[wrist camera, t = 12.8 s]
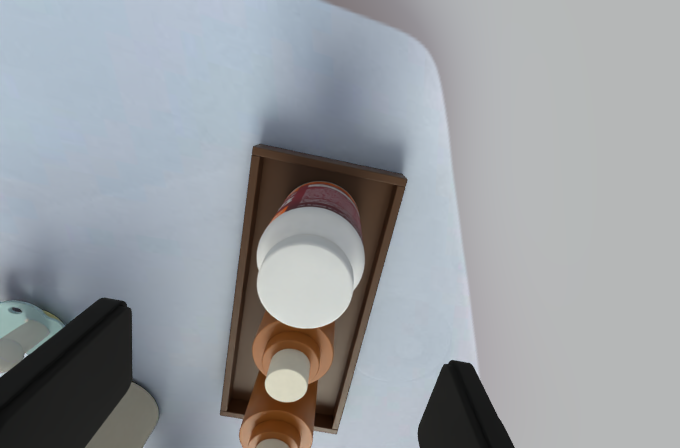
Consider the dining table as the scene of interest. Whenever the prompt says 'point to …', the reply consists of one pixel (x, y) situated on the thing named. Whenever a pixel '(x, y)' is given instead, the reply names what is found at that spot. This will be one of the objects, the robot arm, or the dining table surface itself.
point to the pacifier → (23, 331)
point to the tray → (377, 227)
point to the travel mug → (128, 421)
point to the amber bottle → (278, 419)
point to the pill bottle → (311, 256)
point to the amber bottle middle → (292, 356)
